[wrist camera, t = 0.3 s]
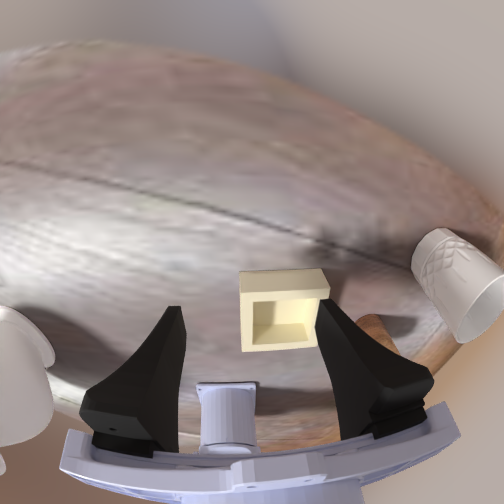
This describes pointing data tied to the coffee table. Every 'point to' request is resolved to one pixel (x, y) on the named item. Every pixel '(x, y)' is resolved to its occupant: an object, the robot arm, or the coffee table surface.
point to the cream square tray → (280, 308)
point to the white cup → (459, 283)
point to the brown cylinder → (377, 331)
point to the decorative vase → (23, 379)
